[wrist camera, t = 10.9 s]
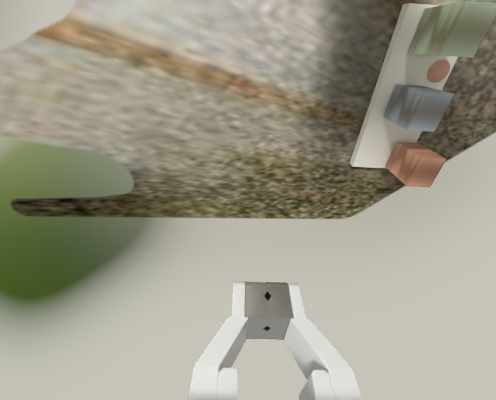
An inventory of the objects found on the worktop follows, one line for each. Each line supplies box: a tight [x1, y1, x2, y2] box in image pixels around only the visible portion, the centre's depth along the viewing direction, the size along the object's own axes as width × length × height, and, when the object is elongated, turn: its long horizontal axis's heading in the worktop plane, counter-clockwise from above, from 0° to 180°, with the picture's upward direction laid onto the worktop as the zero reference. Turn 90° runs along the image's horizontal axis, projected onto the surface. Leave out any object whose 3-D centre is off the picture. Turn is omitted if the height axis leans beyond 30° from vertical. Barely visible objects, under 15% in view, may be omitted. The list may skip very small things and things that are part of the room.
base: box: [350, 3, 458, 168], centre depth 38 cm, size 24×10×2 cm, turn 177°
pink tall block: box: [385, 142, 446, 187], centre depth 39 cm, size 5×4×7 cm
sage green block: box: [408, 1, 496, 58], centre depth 29 cm, size 5×4×7 cm
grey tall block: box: [383, 84, 454, 132], centre depth 34 cm, size 5×4×7 cm
